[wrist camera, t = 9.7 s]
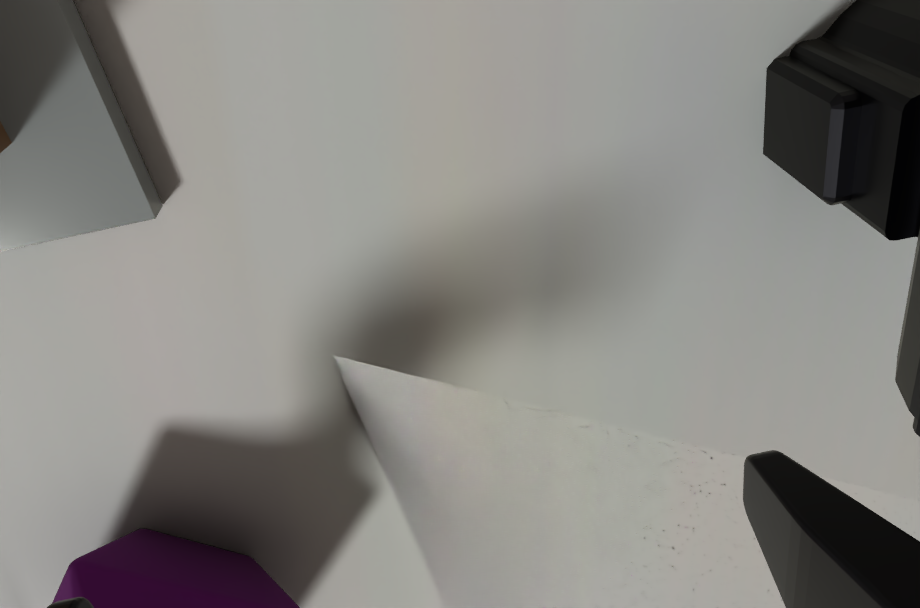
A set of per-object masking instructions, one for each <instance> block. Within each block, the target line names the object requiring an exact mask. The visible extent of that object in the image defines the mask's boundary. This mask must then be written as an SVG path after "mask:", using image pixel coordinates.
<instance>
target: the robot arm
mask: <svg viewBox="0 0 920 608" xmlns="http://www.w3.org/2000/svg"><path fill="white" fill-rule="evenodd" d="M763 154H764V155H765V156H767V157H768V158H769V159H770V160H772V161H773V162H774V163H776V164H777V165H778V166H779V167H781V168H782V169H783V170H785V171H786V172H787V173H788V174H790V175H791V176H792V177H794V178H795V179H796V180H797V181H799V182H800V183H801V184H802V185H804V186H805V187H806V188H808V189H809V190H810V191H811V192H813V193H814V194H815V195H817V196H818V197H819V198H820V199H822V200H823V201H824V202H826V203H827V204H829V205H835V204H839V203H841V204H843V205H844V206H845V207H847V208H848V209H849V210H851V211H852V212H853V213H855V214H856V215H857V216H859V217H860V218H861V219H863V220H864V221H865V222H866V223H868V224H869V225H870V226H872V227H873V228H874V229H876V230H877V231H878V232H880V233H881V234H882V235H884V236H885V237H886V238H888V239H889V240H900V239H905V238H910V237H918V241H917V247H916V253H915V258H914V264H913V270H912V275H911V281H910V287H909V292H908V298H907V304H906V310H905V315H904V321H903V327H902V332H901V338H900V344H899V350H898V356H897V367H896V379H895V381H896V383H897V386H898V388H899V390H900V392H901V394H902V396H903V398H904V400H905V403H906V405H907V407H908V409H909V411H910V412H911V413H912V415H913V416H914V422H913V429H914V431H915V433H916V434H917V435H918V436H919V437H920V0H857V1H855V2H854V3H853V4H852V5H851V6H850V7H849V8H848V9H847V10H846V11H844V12H843V13H842V14H841V15H840V16H839V17H838V18H837V20H836V21H835V22H834V23H833V24H832V26H831V27H830V28H829V29H828V30H827V31H826V33H825V34H824V35H823V36H821V37H819V38H817V39H812V40H808V41H803V42H800V43H798V44H796V45H795V46H794V47H793V49H792V50H791V53H790V56H787V57H782V58H777V59H774V60H773V62H772V63H771V64H770V65H769V66H768V68H767V77H766V100H765V123H764V147H763ZM743 502H744V507H745V510H746V514H747V516H748V519H749V521H750V523H751V526H752V528H753V531H754V533H755V535H756V538H757V540H758V542H759V545H760V547H761V550H762V552H763V554H764V557H765V559H766V561H767V564H768V566H769V568H770V571H771V573H772V576H773V578H774V580H775V583H776V585H777V587H778V590H779V592H780V595H781V597H782V599H783V602H784V604H785V606H786V608H920V542H919V541H918V540H916V539H915V538H913V537H912V536H910V535H909V534H907V533H905V532H904V531H902V530H901V529H899V528H898V527H896V526H895V525H893V524H892V523H890V522H888V521H887V520H885V519H884V518H882V517H881V516H879V515H878V514H876V513H874V512H873V511H871V510H870V509H868V508H867V507H865V506H864V505H862V504H860V503H859V502H857V501H856V500H854V499H853V498H851V497H850V496H848V495H847V494H845V493H843V492H842V491H840V490H839V489H837V488H836V487H834V486H833V485H831V484H829V483H828V482H826V481H825V480H823V479H822V478H820V477H819V476H817V475H816V474H814V473H812V472H811V471H809V470H808V469H806V468H805V467H803V466H802V465H800V464H798V463H797V462H795V461H794V460H792V459H791V458H789V457H788V456H786V455H784V454H783V453H781V452H779V451H775V450H772V451H766V452H762V453H757V454H752V455H749V456H748V457H747V458H746V460H745V463H744V485H743ZM47 608H94V607H93V605H92V604H91V603H90V601H89V600H88V599H86V598H84V597H76V598H71V599H66V600H61V601H57V602H54V603H52V604H51V605H49V606H48V607H47Z"/></svg>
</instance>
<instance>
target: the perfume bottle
mask: <svg viewBox="0 0 920 608" xmlns="http://www.w3.org/2000/svg"><path fill="white" fill-rule="evenodd" d="M76 597H84V598H86V599H88V600H89V601H90V603H91V604H92V605H93V607H94V608H300V607H299V606H298V605H297V604H296V603H295V602H294V601H293V600H292V599H291V598H290V597H289V596H288V595H287V594H286V593H285V592H284V591H283V590H282V588H281V587H280V586H279V585H278V584H277V583H276V582H275V581H274V580H273V579H272V578H271V577H270V576H269V575H268V574H267V573H266V572H265V571H264V570H263V568H262V567H261V566H260V565H259V564H258V563H257V562H256V561H255V560H254V559H253V558H251V557H249V556H246V555H242V554H238V553H235V552H231V551H227V550H223V549H220V548H216V547H212V546H208V545H205V544H201V543H197V542H193V541H190V540H186V539H182V538H178V537H175V536H171V535H167V534H164V533H160V532H156V531H152V530H149V529H138V530H136V531H134V532H132V533H130V534H128V535H126V536H124V537H121V538H119V539H117V540H115V541H113V542H111V543H109V544H107V545H104V546H102V547H100V548H98V549H96V550H94V551H92V552H90V553H88V554H85V555H83V556H81V557H79V558H77V559H75V560H74V561H73V562H72V563H71V564H70V565H69V567H68V569H67V571H66V574H65V576H64V578H63V580H62V583H61V585H60V587H59V589H58V591H57V594H56V596H55V598H54V600H53V603H54V602H57V601H61V600H66V599H71V598H76Z"/></svg>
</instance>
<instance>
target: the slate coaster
mask: <svg viewBox="0 0 920 608" xmlns="http://www.w3.org/2000/svg"><path fill="white" fill-rule="evenodd" d="M0 122H1V123H2V125H3V127H4V129H5V131H6V133H7V135H8V136H9V138H10V140H11V142H12V144H10V145H9V146H8V147H7V148H6V149H5V150H3V151H2V152H1V153H0V252H1V251H6V250H11V249H15V248H20V247H25V246H29V245H34V244H39V243H44V242H48V241H53V240H58V239H62V238H67V237H72V236H76V235H81V234H86V233H90V232H95V231H100V230H104V229H109V228H114V227H118V226H123V225H128V224H132V223H137V222H142V221H146V220H151V219H155V218H156V217H157V215H158V213H159V211H160V209H161V208H162V206H163V205H162V203H161V201H160V199H159V196H158V194H157V192H156V189H155V187H154V185H153V182H152V180H151V178H150V176H149V173H148V171H147V169H146V166H145V164H144V162H143V160H142V157H141V155H140V153H139V150H138V148H137V146H136V144H135V141H134V139H133V137H132V134H131V132H130V130H129V128H128V125H127V123H126V121H125V118H124V116H123V114H122V111H121V109H120V107H119V105H118V102H117V100H116V98H115V95H114V93H113V91H112V89H111V86H110V84H109V82H108V79H107V77H106V75H105V73H104V70H103V68H102V66H101V63H100V61H99V59H98V56H97V54H96V52H95V50H94V47H93V45H92V43H91V40H90V38H89V36H88V34H87V31H86V29H85V27H84V24H83V22H82V20H81V18H80V15H79V13H78V11H77V8H76V6H75V4H74V2H73V0H0Z"/></svg>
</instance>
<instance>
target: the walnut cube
mask: <svg viewBox="0 0 920 608" xmlns="http://www.w3.org/2000/svg"><path fill="white" fill-rule="evenodd" d="M10 144H12V142H11V140H10V138H9V136H8V135H7V133H6V131H5V129H4V127H3V125H2V123H1V122H0V153H1V152H2V151H3V150H5V149H6V148H7V147H8V146H9V145H10Z"/></svg>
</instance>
